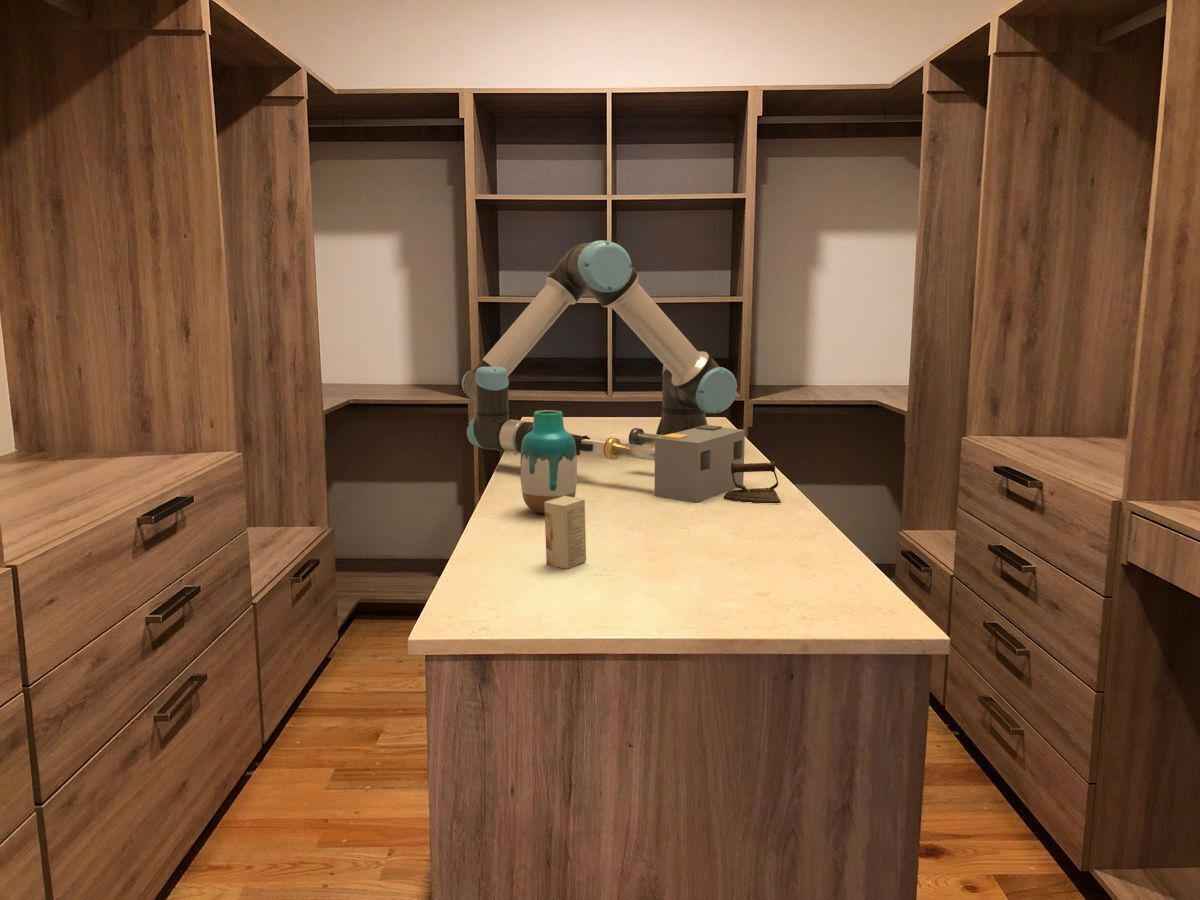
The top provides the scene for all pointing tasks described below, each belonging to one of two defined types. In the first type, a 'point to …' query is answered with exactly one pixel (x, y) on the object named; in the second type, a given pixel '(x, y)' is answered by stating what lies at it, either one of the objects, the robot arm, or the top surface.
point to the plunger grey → (642, 437)
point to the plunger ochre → (627, 450)
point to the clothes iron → (757, 493)
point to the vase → (547, 461)
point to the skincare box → (565, 531)
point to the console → (698, 462)
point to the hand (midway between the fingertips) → (607, 448)
